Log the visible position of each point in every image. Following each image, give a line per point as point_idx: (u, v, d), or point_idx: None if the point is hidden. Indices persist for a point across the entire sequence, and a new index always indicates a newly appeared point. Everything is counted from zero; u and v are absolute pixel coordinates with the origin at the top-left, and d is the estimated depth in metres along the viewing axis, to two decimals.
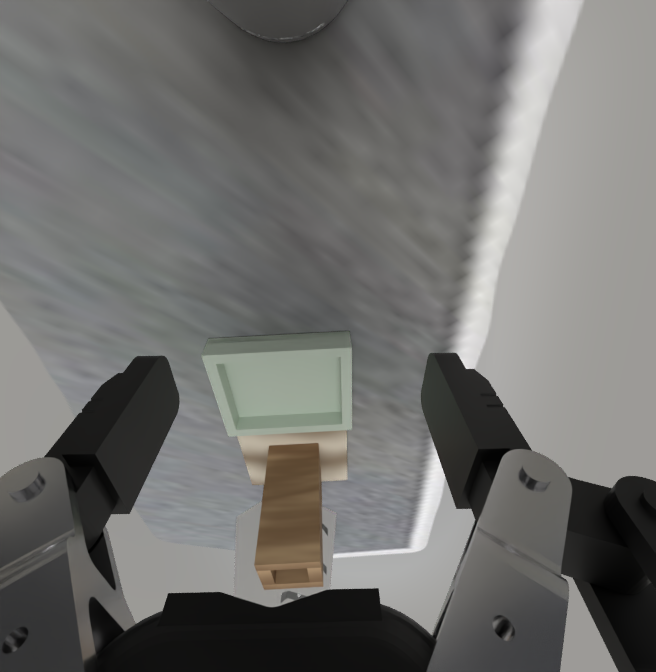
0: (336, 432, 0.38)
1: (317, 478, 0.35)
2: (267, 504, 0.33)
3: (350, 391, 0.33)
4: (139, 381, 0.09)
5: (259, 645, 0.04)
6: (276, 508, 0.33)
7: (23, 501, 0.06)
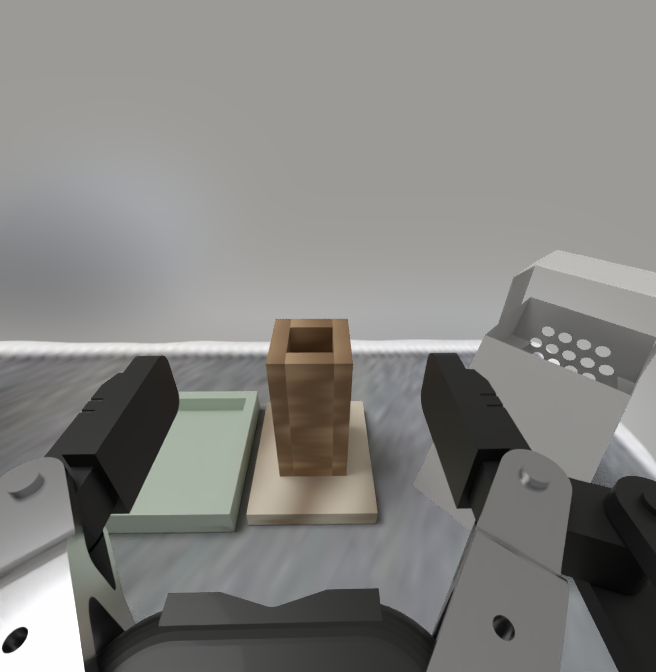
0: (271, 409, 0.35)
1: None
2: None
3: (202, 392, 0.36)
4: (139, 381, 0.09)
5: (259, 645, 0.04)
6: None
7: (23, 501, 0.06)
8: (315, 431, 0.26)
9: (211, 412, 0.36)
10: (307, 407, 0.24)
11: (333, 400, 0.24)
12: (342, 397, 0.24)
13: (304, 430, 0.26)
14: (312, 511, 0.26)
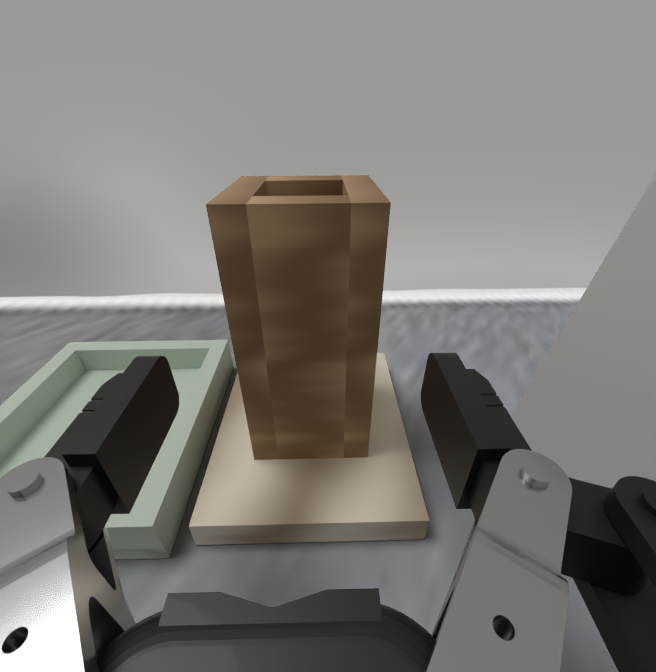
0: None
1: None
2: None
3: (145, 342, 0.24)
4: (139, 381, 0.09)
5: (259, 645, 0.04)
6: None
7: (23, 501, 0.06)
8: (313, 370, 0.14)
9: None
10: (296, 316, 0.13)
11: (348, 299, 0.12)
12: (364, 291, 0.12)
13: (293, 368, 0.14)
14: (310, 519, 0.14)
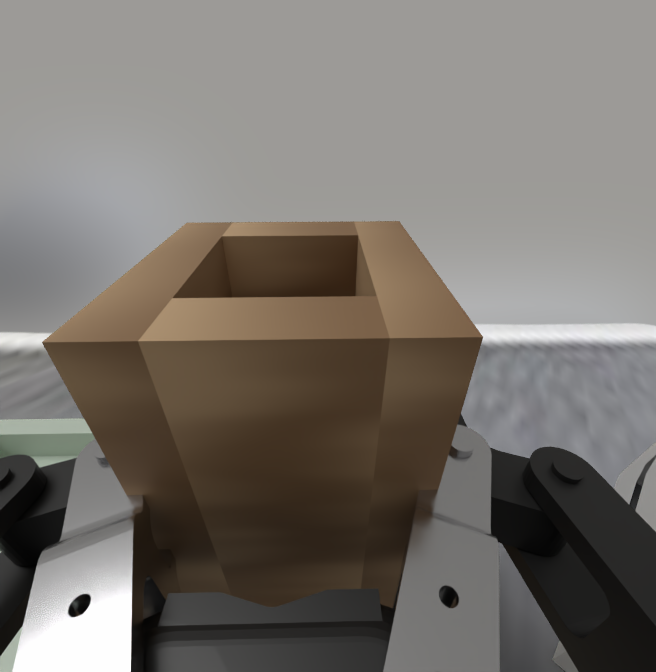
0: None
1: None
2: None
3: None
4: None
5: (259, 645, 0.04)
6: None
7: None
8: (305, 572, 0.08)
9: None
10: (272, 511, 0.06)
11: (371, 489, 0.06)
12: (406, 478, 0.06)
13: (269, 570, 0.08)
14: None
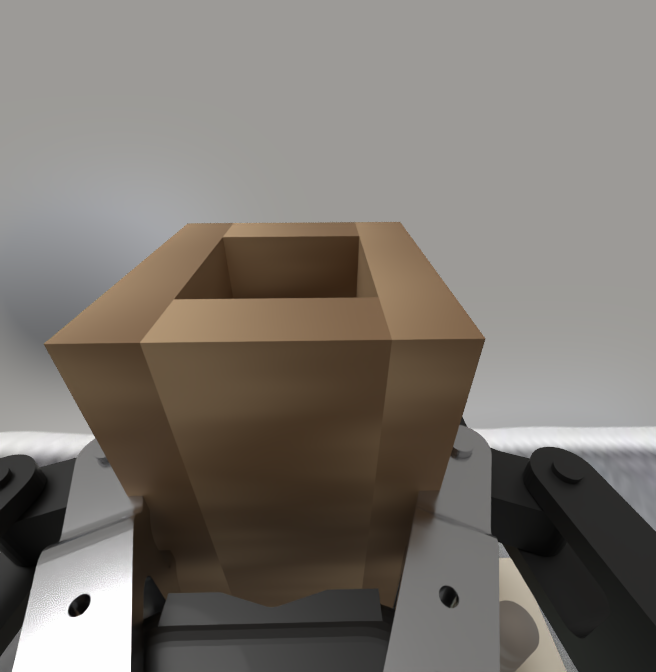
0: None
1: None
2: None
3: None
4: None
5: (259, 645, 0.04)
6: None
7: None
8: (306, 573, 0.08)
9: None
10: (273, 512, 0.06)
11: (373, 491, 0.06)
12: (408, 480, 0.06)
13: (270, 572, 0.08)
14: None
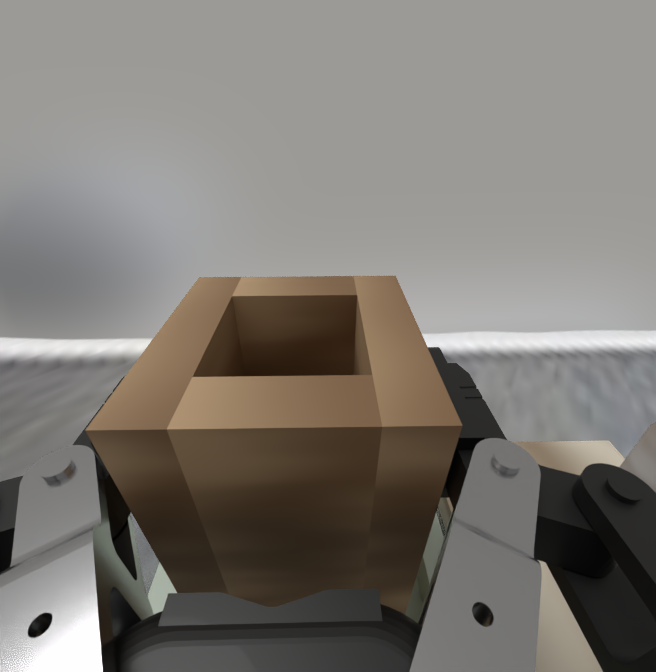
0: None
1: None
2: None
3: None
4: None
5: (259, 645, 0.04)
6: None
7: (58, 486, 0.06)
8: None
9: None
10: (278, 556, 0.07)
11: (368, 539, 0.07)
12: (399, 530, 0.07)
13: (275, 603, 0.09)
14: None
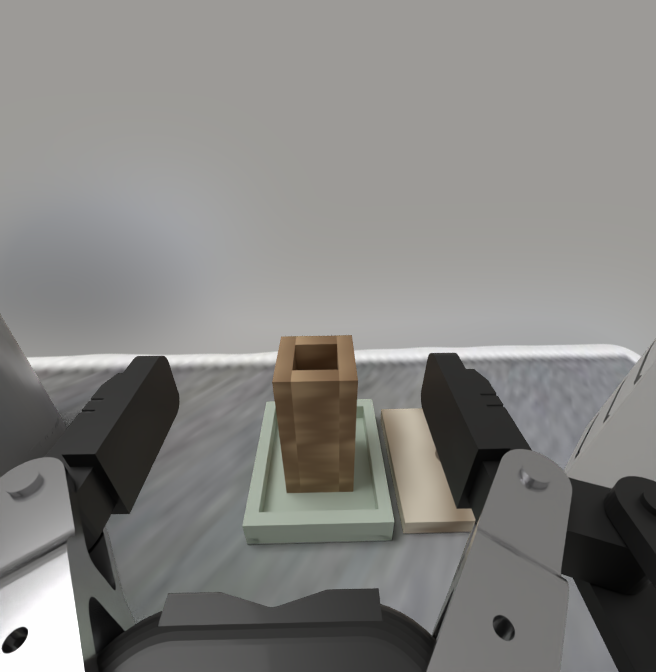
0: (388, 417, 0.35)
1: None
2: None
3: None
4: (139, 381, 0.09)
5: (259, 645, 0.04)
6: None
7: (23, 501, 0.06)
8: (321, 447, 0.26)
9: None
10: (313, 423, 0.24)
11: (339, 416, 0.24)
12: (347, 413, 0.24)
13: (310, 446, 0.26)
14: (470, 518, 0.26)
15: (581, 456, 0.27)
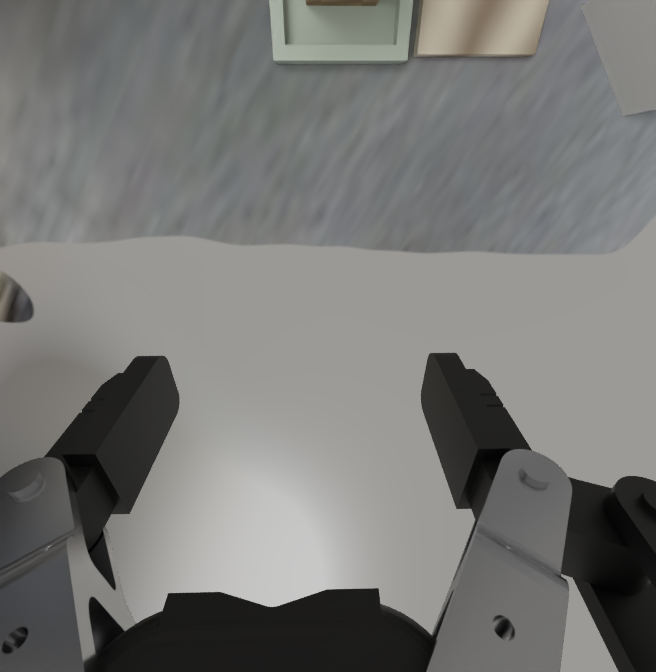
0: None
1: None
2: None
3: None
4: (139, 381, 0.09)
5: (259, 645, 0.04)
6: None
7: (23, 501, 0.06)
8: None
9: None
10: None
11: None
12: None
13: None
14: (476, 51, 0.29)
15: None
